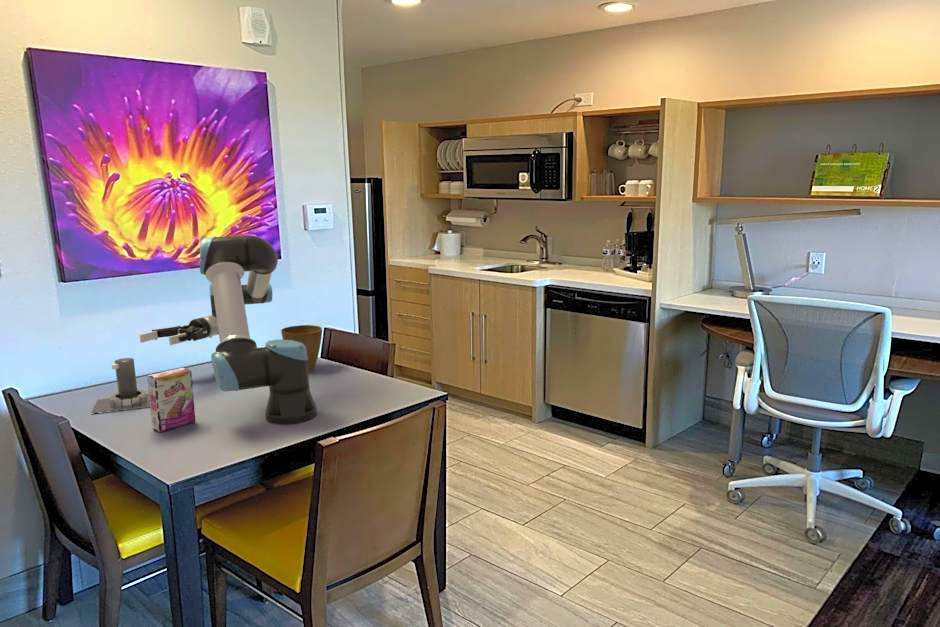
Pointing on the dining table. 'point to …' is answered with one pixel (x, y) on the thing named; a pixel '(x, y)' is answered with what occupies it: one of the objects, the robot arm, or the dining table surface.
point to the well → (122, 402)
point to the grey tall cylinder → (126, 377)
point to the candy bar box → (171, 399)
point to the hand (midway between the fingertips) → (155, 339)
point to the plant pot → (305, 340)
